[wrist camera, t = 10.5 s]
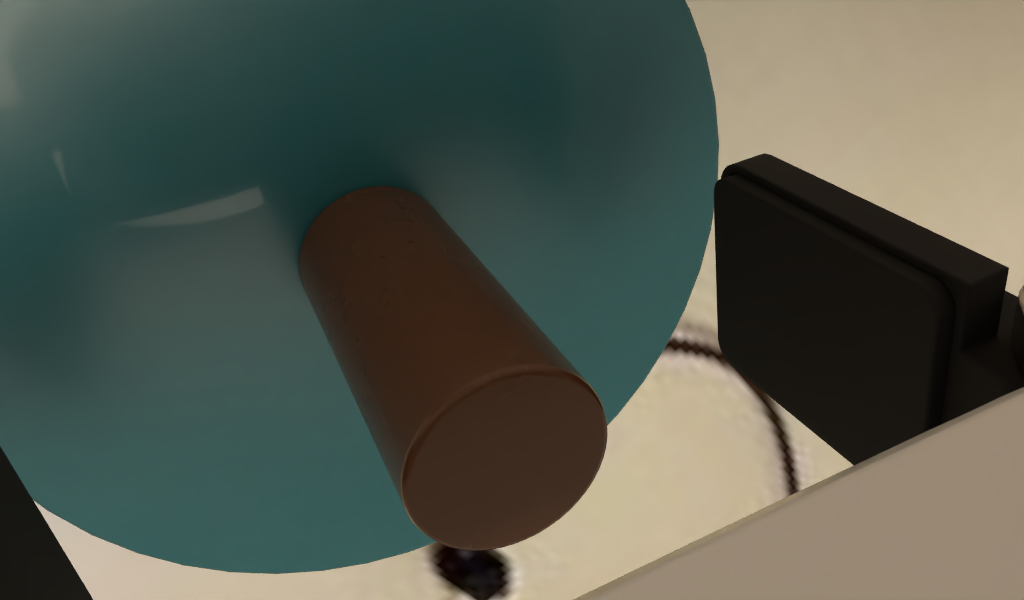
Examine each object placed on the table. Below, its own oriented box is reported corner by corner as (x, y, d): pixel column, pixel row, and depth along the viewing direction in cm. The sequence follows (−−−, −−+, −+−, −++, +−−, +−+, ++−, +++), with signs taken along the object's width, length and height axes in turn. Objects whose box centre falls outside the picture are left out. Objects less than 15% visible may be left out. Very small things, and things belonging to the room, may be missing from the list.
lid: (-44, -416, 10) (-209, -708, 4) (789, -35, 16) (1154, 44, 10) (-143, 529, 14) (-289, 990, 8) (546, 533, 20) (716, 799, 15)
